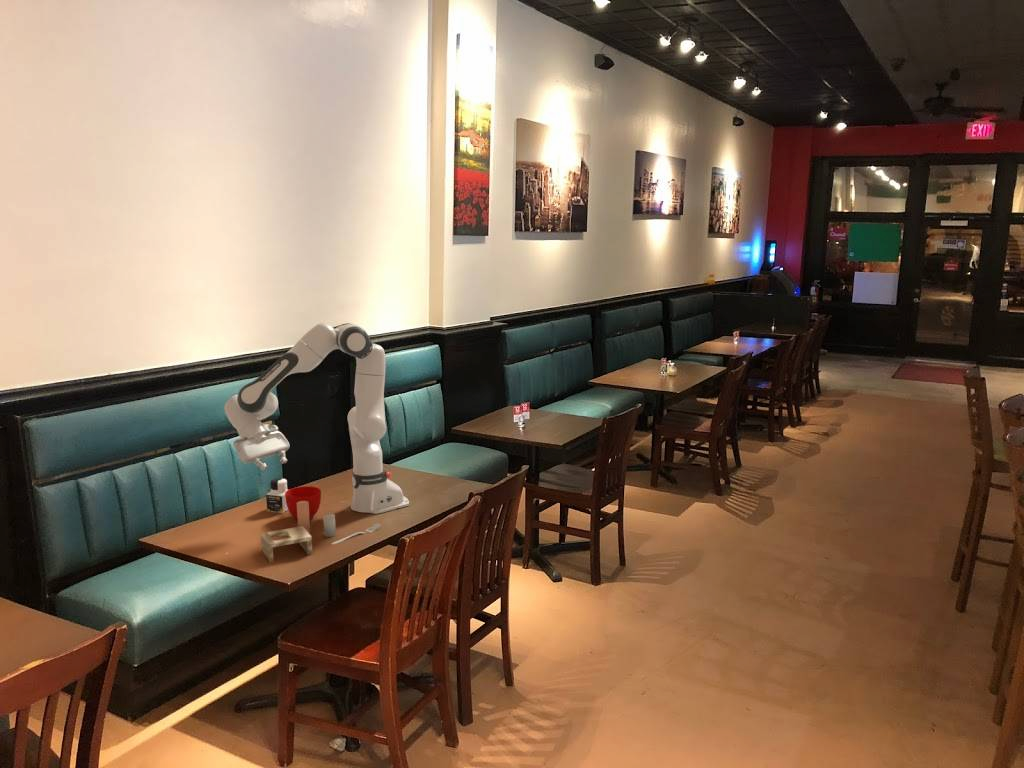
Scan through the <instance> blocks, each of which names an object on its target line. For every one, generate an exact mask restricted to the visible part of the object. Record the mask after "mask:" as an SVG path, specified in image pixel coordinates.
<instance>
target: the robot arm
mask: <svg viewBox="0 0 1024 768" xmlns="http://www.w3.org/2000/svg"><path fill="white" fill-rule="evenodd" d="M334 350H340V351H341V352H343V353H345V354H347V355H350V356H352V357H355V360H356V362H355V363H356V366H355V378H354V391H353V394H354V398H355V406H354V407H352V408H351V409H350V410H349V412H348V414H347V423H348V432H349V437H350V444H351V449H352V461H353V463H352V466H353V471H352V480H351V481H352V486H353V491H352V492H353V494H352V499H351V505H350V509H351V510H352V511H355V512H357V513H368V514H375V515H377V514H382V513H385V512H389V511H394V510H396V509H397V508H398V509H402V508H405V507H408V506H409V505H410V501H409V499H408V498H407V497H406V496H404V494H403V490H402V488H401V487H400V486H399V485H398V484H396V483H395V482H394V481H392V480H390V479H391V478H392V477H393V476H392V473H391V472H389V471H387V470H385V469H383V467H384V466H383V451H382V450H383V449H382V447H381V442H380V440H382V438H383V437H384V436H385V434H386V432H387V423H386V412H385V409H386V408H385V394H384V393H385V380H386V365H387V364H386V362H387V361H386V353H385V349H384V348H383V347H382V346H381V345H380V344H376V343H372V341H371V338H370V336H369V334H368V333H367V331H366V330H365V329H364V328H362V327H361V326H360V325H358V324H355V323H347V322H346V323H342V324H340V325H336V326H331V325H330V324H328V323H325V322H319V323H317V324H315V326H313V327H312V328H310V329H309V330H308V331H307V332H306V333H305V334H303V336H302V337H301V338H300V339H299V340H298V341H297V342H296V343H295V344H294V345H293V346H292V347H291V348H290V349H289V350H288V351H287V352H285V353H284V354H283V355H282V356H281V357H279V358H278V359H277V360H276V361H275V362H273V363H272V364H271V365H270V366H269V367H268V368H266V370H265V371H264V372H263V373H261V374H260V376H258V377H257V378H256V379H255V380H253V381H250V382H249V383H247V384H245V385H244V386H242V387H241V388H240V389H239V391H238V393H237V394H235V395H233V396H231V397H229V398H228V399H227V400H226V402H225V404H224V407H223V408H224V413H225V415H226V417H227V420H228V421H229V422H230V424H231V425H232V427H233V428H235V430H236V431H237V434H238V436H239V437H240V439H235V440H234V441H233V447H234V449H235V450H236V452H237V455H238V457H239V459H240V461H241V462H242V463H243V464H246V465H247V464H250V463H253V464H254V466H257V467H259V469H260V470H261V471H265V470H267V468H268V465H267V464H266V462H264V463H263V462H262V461H261V460H263V459H267V458H269V457H273V456H277V455H278V456H279V457H280V460H279V462H280V463H281V465H283V464H286V463H287V462H288V459H287V457H286V452H287V451H288V450H289V449H290V445H291V444H290V442H289V441H288V439H287V438H286V436H285V434H283V433H282V432H281V431H280V430H279V427H278V426H277V425H276V424H267V423H262V420H264V419H268V418H269V417H270V416H273V415H274V414H275V413H276V412H277V410H278V408H279V399H278V397H277V396H276V395H275V394H274V393H273V392H272V390H274V388H276V387H277V386H278V385H279V384H280V383H281V382H282V381H283V380H284V379H285V378H286V377H287V376H290V375H292V374H298V373H309V372H311V371H313V370H314V369H316V368H317V367H318V366H319V365H320V364H321V363H322V362H323V361H324V359H325V358H326V357H328V355H329V354H330V353H331V352H333V351H334ZM398 509H397V510H398Z"/></svg>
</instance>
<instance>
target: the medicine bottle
mask: <svg viewBox="0 0 1024 768" xmlns="http://www.w3.org/2000/svg"><path fill="white" fill-rule="evenodd" d="M269 484H270V491H269V492H267V493H266V494H265V496H266V499H265V500H266V511H267V512H270V511H271V513H277V512H278V513H277V514H284V513H286V512H287V511H289V510H288V508H287V504H286V498H285V493H286V491H287V490H288V480H287V479H286V478H282V477H279V478H278V477H277V478H274V479H272V480H270V483H269ZM285 511H286V512H285Z"/></svg>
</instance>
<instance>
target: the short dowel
mask: <svg viewBox="0 0 1024 768" xmlns="http://www.w3.org/2000/svg"><path fill="white" fill-rule="evenodd" d="M335 517H336V515H335V514H333V513H327V514H324V515H323V517H322V518H323V536H324V537H326V538H331V537H335V536H337V533H336V518H335Z"/></svg>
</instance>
